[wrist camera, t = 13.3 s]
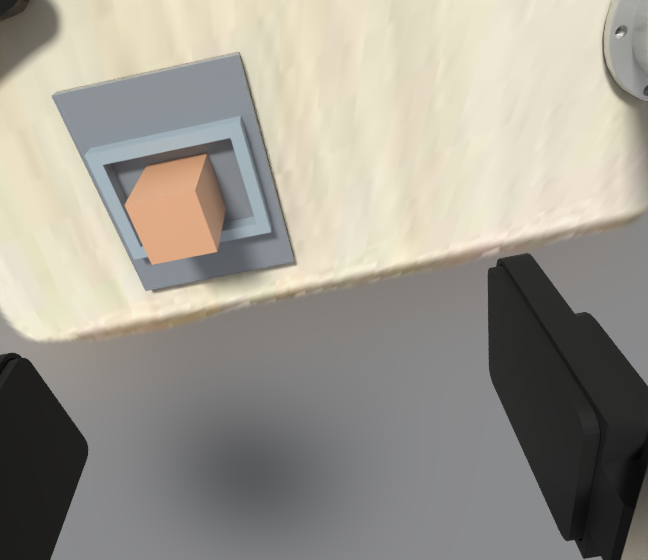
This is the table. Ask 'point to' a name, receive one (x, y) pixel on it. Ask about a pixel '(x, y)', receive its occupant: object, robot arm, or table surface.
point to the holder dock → (179, 142)
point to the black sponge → (11, 8)
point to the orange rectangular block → (177, 209)
